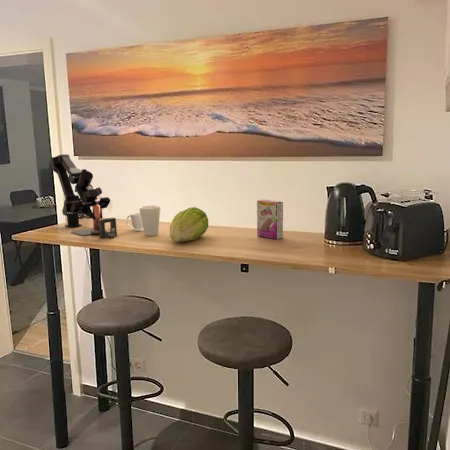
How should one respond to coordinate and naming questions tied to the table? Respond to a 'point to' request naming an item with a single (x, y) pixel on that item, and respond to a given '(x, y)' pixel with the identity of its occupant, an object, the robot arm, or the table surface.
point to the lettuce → (188, 225)
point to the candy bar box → (270, 219)
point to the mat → (84, 232)
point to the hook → (96, 223)
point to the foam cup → (150, 219)
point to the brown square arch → (102, 226)
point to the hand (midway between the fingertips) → (98, 218)
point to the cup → (136, 221)
